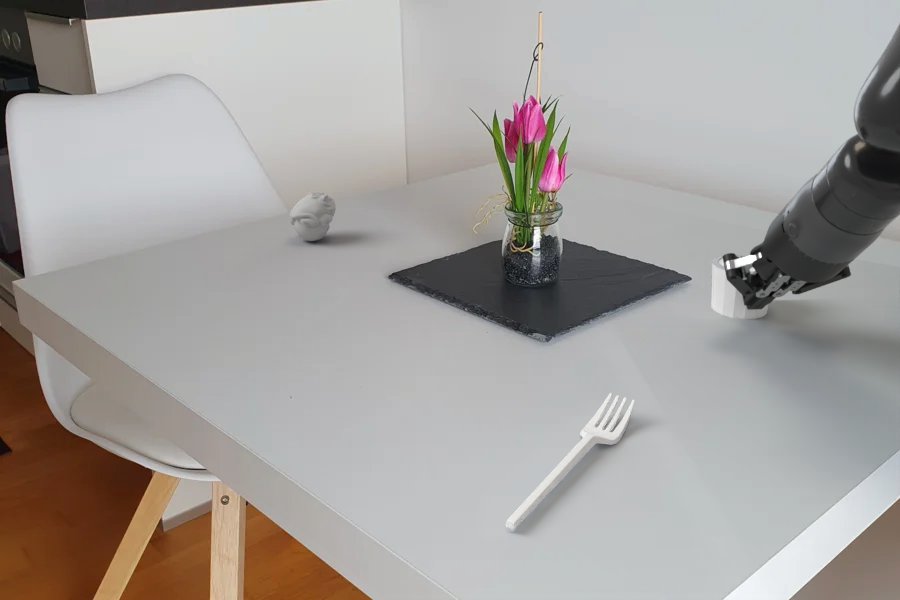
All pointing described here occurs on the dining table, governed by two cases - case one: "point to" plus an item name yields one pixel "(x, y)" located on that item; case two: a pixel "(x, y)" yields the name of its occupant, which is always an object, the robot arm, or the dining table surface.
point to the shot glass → (730, 295)
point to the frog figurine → (313, 215)
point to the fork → (577, 454)
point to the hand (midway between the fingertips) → (751, 301)
